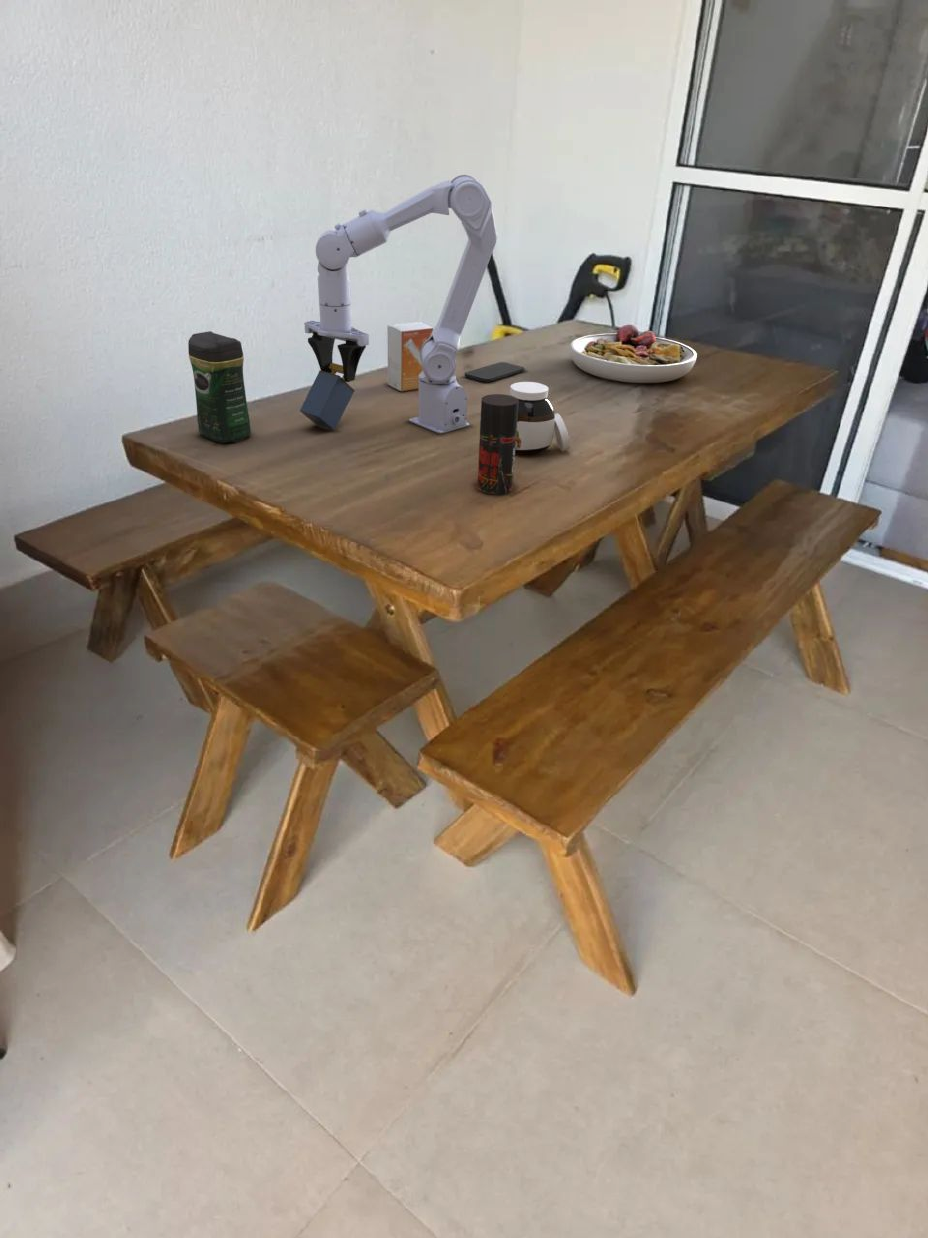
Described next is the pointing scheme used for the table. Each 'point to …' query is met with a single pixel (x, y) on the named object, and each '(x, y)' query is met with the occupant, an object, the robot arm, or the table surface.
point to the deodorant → (497, 443)
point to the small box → (406, 354)
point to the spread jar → (537, 420)
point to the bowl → (632, 356)
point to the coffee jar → (219, 387)
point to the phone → (494, 371)
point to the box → (327, 398)
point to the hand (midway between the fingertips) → (338, 377)
